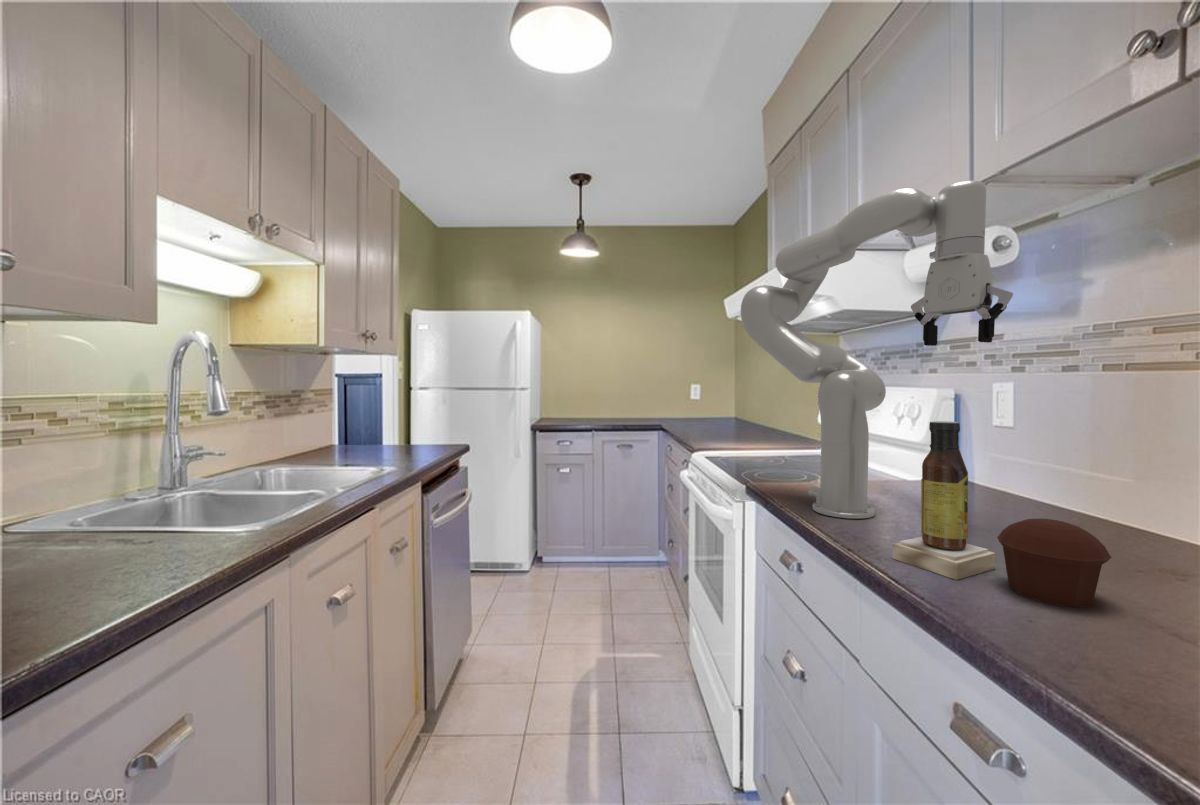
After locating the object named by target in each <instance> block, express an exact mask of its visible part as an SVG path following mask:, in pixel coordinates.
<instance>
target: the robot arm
mask: <svg viewBox="0 0 1200 805" xmlns="http://www.w3.org/2000/svg"><path fill="white" fill-rule="evenodd" d="M986 212H987V186H986V184H985V183H983V182H982V181H979V180H964V181H958V182H954V183H951V184H948V185H945V187H943V188H942V189H941V190H940V191H939V192H938V194H937V195H929V194H927V193H925V192H924V191H922V190H919V189H917V188H914V187H902V188H898V189H897V188H896V189H893V190H891V191H889V192H886V193H884V194H881V195H879V196H877V197H874V198H872V199H870V200H868V201H865V202H864V203H862V204H860V205H858V206H856V207H855V208H854V209H853V210H851V211H850V212H849V213H848V214H847V215H845V216H844V217H843V218H842V219H841V220H840V221H839V222H838V223H835V224H833V225H832V226H829V227H827V228H825V229H822V230H820V231H818V232H814V233H813V234H811V235H808V236H804V237H803V238H800V239H798V240H796V241H793V242H791V243H789V244H786V245H785V246H784V247H782V248H781V249H780V250H779V251H778V253H777V255H776V258H775V267H776V268H775V269H776V270H777V271H778V273H779V275H781V276H782V277H784V278H786V279H787V280H786V282H785V283H784V285H783V286H782V287H778V286H773V285H758V286H754V287H752V288H750V289H749V290H748V291H747V292H746V293H745V294H744V295H743V298H742V301H741V304H740V318H741V322H742V325H743V328H744V330H745V332H746V333H747V334H748V336H749V337H750V339H752V340H753V341H754V342H755V343H756V344H757V345H758V346H759V347H760V348H761V349H763V350H764V351H765V352H766V353H768V354H769V355H770V356H771V357H772V358H773V359H774V360H776V362H777V363H779V364H780V365H781V366H783V368H785V369H786V370H787V371H788V372H789V373H790V374H792V375H793V376H794V377H795V378H797V379H798V380H799V381H801V382H804V383H807V384H808V383H811V384H812V383H814V384H819V383H820V384H819V385H818V386H819V387H818V391H817V400H818V401H817V402H818V409H819V414H820V474H819V476H820V478H819V479H820V480H819V482H820V483H819V486H820V487H819V486H812V487H811V489H809V490H808V493H807V494H808V496H811V497H815V498H816V499H815V501H814V502H813V503H812V510H813V511H814V512H816V513H818V514H821V515H824V516H829V517H834V518H841V519H852V520H853V519H854V520H855V519H856V520H857V519H858V520H861V519H870V518H873V517H874V516H875V515H876V510H875V508H874V507H872V506H870V505H868V488H869V487H868V485H869V483H868V482H869V481H868V480H869V442H870V441H869V434H870V433H869V432H870V431H869V424H868V418H867V414H866V412H867V411H872V410H874V409H876V408H878V407H879V406H880V405H881V404H882V403H883V402H884V400H885V397H886V393H887V392H886V390H887V388H886V385H885V383H884V382H885V381H883V379H882V378H881V376H880V375H879V374H877V373H876V372H875V371H874V370H872V369H871V368H870V367H868V366H867V365H866V364H864V363H863V362H862V361H860V360H858V359H857V358H856V357H855V356H854V355H852V354H851V353H849V352H847V350H845V349H843V348H842V347H840V346H838V345H836V344H831V343H824V342H817V341H815V340H812V339H810V337H808V336H806V335H805V334H803V333H802V332H801V331H799V329H797V327H795V326H793V325H791V324H790V322H792V321H794V320H796V319H797V318H798V317H799V316H800V315H801V314H802V312H803V311H804V310H805V308H807V306H808V304H809V303H810V302H811V300H812V298H813V297H814V295H815V294H816V292H817V291H818V290H819V289H820V287H821V285H822V284H823V282H824V280H825V278H826V277H827V274H828V272H829V270H830V268H833V267H836V266H839V265H841V264H844V263H848V262H849V261H851V260H853V258H854V257H855V255H856V252H857V251H856V249H858V247H860V246H861V245H862V244H863V243H865V242H867V241H869V240H871V239H874V238H876V237H880V236H882V235H885V234H887V233H889V232H890V233H891V232H892V231H896V230H897V231H899V232H900V233H903V234H905V235H907V236H910V237H915V238H918V237H925V236H928V235H932V234H934V233H935V246H934V251H932V252H931V251H930V252H929V256H928V257H929V258H930V260H934V262H931V263H930V265H929V267H928V270H927V276H926V280H925V286H924V294H923V295H924V296H922V297H921V298H920V299H918V300H917V301H915V302H914V303H912V304H911V305H910V309H911V311H912V313H913V315H914V318H915V319H916V320H917V321H918V322H919V323H920V325H921V326H922V327H923V328H922V329H923V330H922V331H923V332H922V341H923V345H924V346H929V347H931V346H932V347H933V346H937V345H938V329H939V326H938V325H936V323H937V321H939V319H940V318H941V317H942V316H945V315H956V314H963V313H964V314H966V313H973V312H974V313H975V312H976V313H977V314H978V315H979V316H981V319H979V320H978V330H977V333H978V335H977V338H978V339H977V341H978V342H979V343H987V344H989V343H992V342H993V338H994V336H995V322H996V320H998V318H999V316H1000V315H1001V314H1002V313H1003V312H1004V311H1005V310H1006V309H1007V307H1008V305H1009V303H1010V301H1011V300H1012V298H1013V297H1014V293H1013V292H1012V291H1008V290H1007V289H1004V288H1000V287H996V286H994V285H993V276H992V268H991V264H990V259H989V255H987V254H985V242H986V239H985V238H986V219H987V218H986V217H987V216H986V214H987V213H986ZM993 296H996V297H998V299H997V302H996V303H995V304H994V305H992V304H993Z"/></svg>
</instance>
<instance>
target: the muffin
mask: <svg viewBox="0 0 1200 805" xmlns="http://www.w3.org/2000/svg"><path fill="white" fill-rule="evenodd" d="M996 538H997V540H998V542H999V543H1000V545H1001V546H1002V551H1003V556H1004V562H1005V569H1006V575H1007V581H1008V582H1007V583H1008V587H1009V588H1010V589H1011V588H1012V589H1011V590H1013V589H1014V590H1013V591H1015V590H1016V591H1015V592H1017V593H1018V592H1019V593H1020V594H1019V593H1018V594H1019V595H1021V596H1022V595H1023V596H1022V597H1025V596H1027V597H1026V598H1029V597H1030V599H1032V598H1034V599H1033V600H1035V599H1037V600H1036V601H1038V600H1040V601H1039V602H1041V601H1042V602H1041V603H1044V602H1046V603H1045V604H1047V603H1051V604H1050V605H1055V604H1058V605H1057V606H1062V605H1064V606H1063V607H1067V606H1068V608H1074V607H1075V608H1081V606H1084V607H1093V603H1094V600H1095V596H1096V592H1097V587H1098V582H1099V579H1100V574H1101V570H1102V566H1103V565H1104V564H1106V563H1108V562H1109V561H1110V560H1111V559H1112V556H1111V555H1110V553H1109V551H1108V549H1107V548H1106V546H1105V545H1104V544H1103V543H1102V542H1101V541H1100V540H1099V539H1098V538H1097V537H1096V536H1095V535H1093V534H1092V533H1090V532H1089V531H1087V530H1086V529H1084V528H1082V527H1080V526H1079V525H1075V524H1073V523H1069V522H1066V521H1062V520H1058V519H1051V518H1049V519H1048V518H1027V519H1023V520H1021V521H1017V522H1014V523H1011V524H1010V525H1007V526H1006V527H1005V528H1004V529H1002V531H1001V532H1000V534H999V535H998V536H997V537H996ZM1075 608H1074V609H1075Z"/></svg>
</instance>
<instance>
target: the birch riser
mask: <svg viewBox="0 0 1200 805" xmlns="http://www.w3.org/2000/svg"><path fill="white" fill-rule="evenodd" d="M996 555H997V554H996V553H995V552H993V551H990V550H989V549H988V548H985V547H981V546H976V545H973V544H970V543H966V547H965V548H963V549H959V550H952V549H941V548H936V547H933V546H930V545H927V544H925V543H924V542H923V540H922V536H918V537H913V538H910V539H904V540H900V541H899V542H895V543H892V559H894V560H896V561H898V562H902V563H905V564H908V565H911V566H914V567H916V568H920V569H923V570H926V571H929V572H932V573H935V574H938V575H941V576H944V577H947V578H951V579H953V580H955V581H958V580H961V579H964V578H965V579H966V578H968V577H972V576H974V575H976V576H977V575H978V574H982V573H986V572H989V571H993V570H995V569H996Z"/></svg>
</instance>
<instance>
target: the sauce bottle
mask: <svg viewBox="0 0 1200 805" xmlns="http://www.w3.org/2000/svg"><path fill="white" fill-rule="evenodd" d="M928 426H929V427H928V428H929V432H930V444H929V447H930V450H929V452H928V453H927V455H926V456H925V457H924V459H923V461H922V464H921V465H922V466H921V469H922V470H921V480H920V481H921V483H920V489H921V490H920V492H921V493H920V497H921V498H920V533H921V537H922V540H923V542H924V543H925V544H927V545H930V546H933V547H936V548H941V549H952V550H959V549H963V548H965V547H966V544H967V538H968V537H969V536H968V535H969V531H968V529H969V528H968V527H969V525H968V524H969V472H968V469H967V466H966V464H965V462H964V458H963V456H962V452H961V451H960V445H959V438H960V437H959V433H960V431H961V425H960V422H958V421H945V420H944V421H940V420H939V421H930V422H929V425H928Z"/></svg>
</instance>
